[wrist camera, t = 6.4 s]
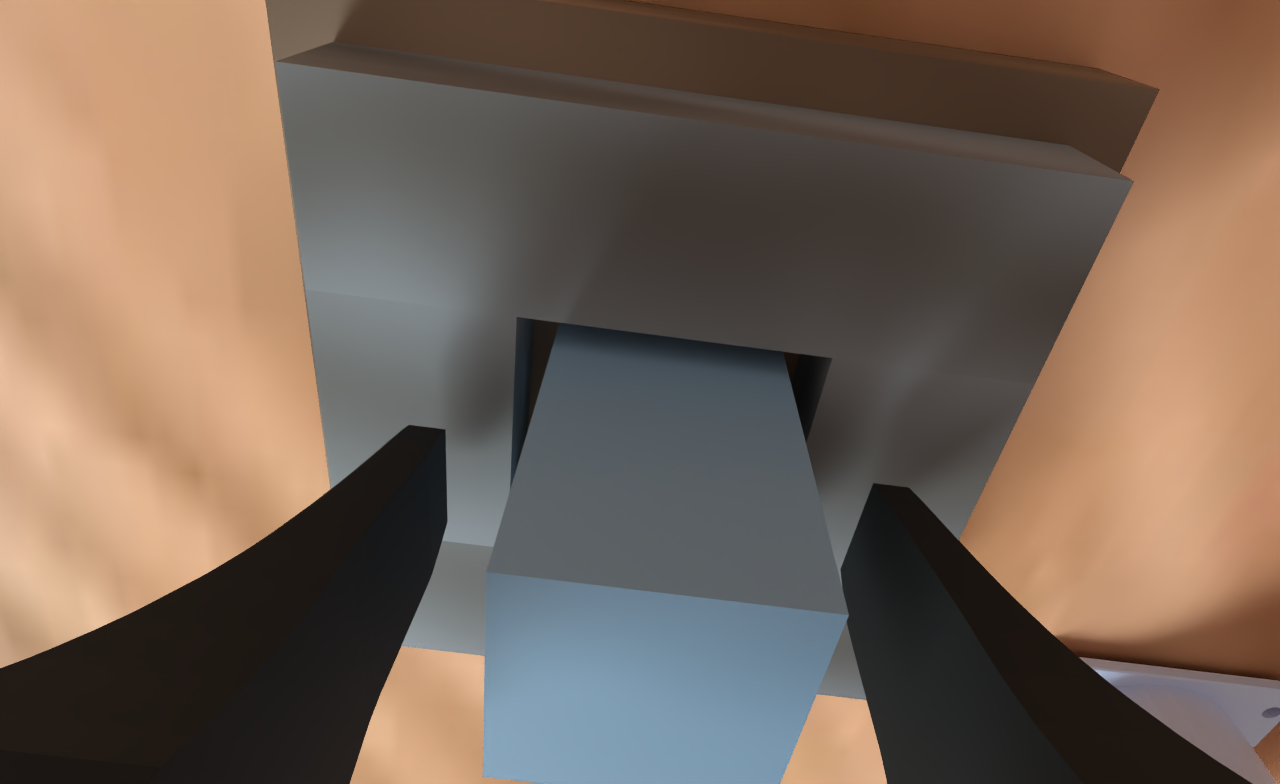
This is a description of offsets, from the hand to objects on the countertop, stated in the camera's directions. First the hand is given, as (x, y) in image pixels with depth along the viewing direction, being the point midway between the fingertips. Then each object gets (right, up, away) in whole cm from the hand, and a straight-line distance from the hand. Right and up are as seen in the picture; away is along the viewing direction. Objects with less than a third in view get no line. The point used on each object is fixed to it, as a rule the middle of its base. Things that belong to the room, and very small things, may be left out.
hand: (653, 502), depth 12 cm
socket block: (0, +3, +4) cm, 5 cm away
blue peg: (0, +2, +3) cm, 3 cm away
